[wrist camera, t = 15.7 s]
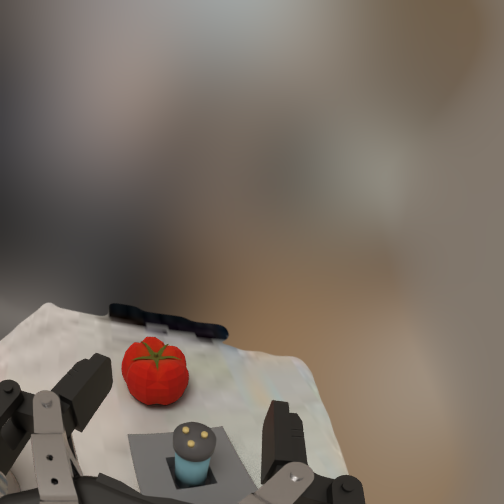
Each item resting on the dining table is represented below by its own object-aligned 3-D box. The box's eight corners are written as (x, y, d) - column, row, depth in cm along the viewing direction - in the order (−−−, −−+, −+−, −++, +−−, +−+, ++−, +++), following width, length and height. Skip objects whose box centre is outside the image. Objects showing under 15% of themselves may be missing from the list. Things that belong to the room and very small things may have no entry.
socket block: (151, 528, 20) (149, 522, 19) (129, 445, 33) (127, 434, 33) (259, 507, 27) (264, 500, 26) (219, 437, 41) (222, 426, 40)
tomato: (192, 414, 45) (196, 375, 42) (122, 412, 40) (117, 371, 38) (182, 370, 57) (186, 332, 55) (124, 367, 52) (122, 327, 50)
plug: (178, 495, 27) (179, 454, 23) (169, 469, 31) (168, 421, 28) (212, 490, 29) (223, 447, 26) (200, 465, 34) (208, 417, 30)
